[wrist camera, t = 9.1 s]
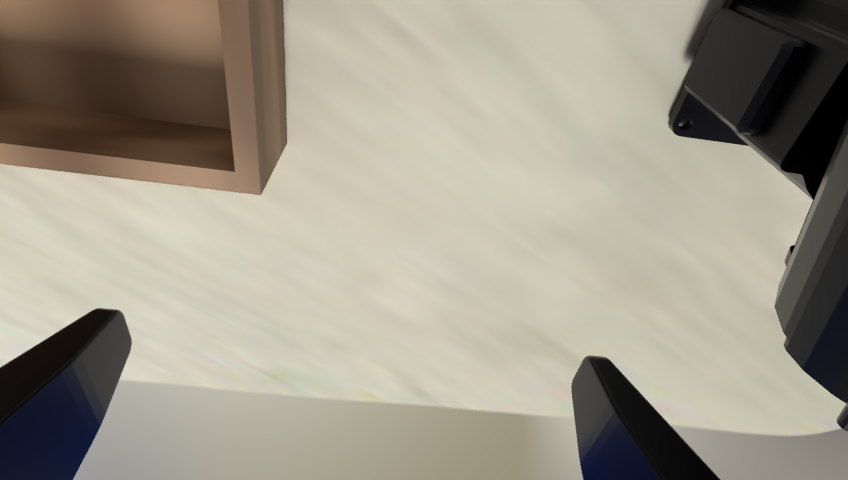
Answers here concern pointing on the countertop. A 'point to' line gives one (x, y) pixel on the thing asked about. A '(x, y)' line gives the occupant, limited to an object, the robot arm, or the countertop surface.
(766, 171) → the countertop surface
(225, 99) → the compartment tray
